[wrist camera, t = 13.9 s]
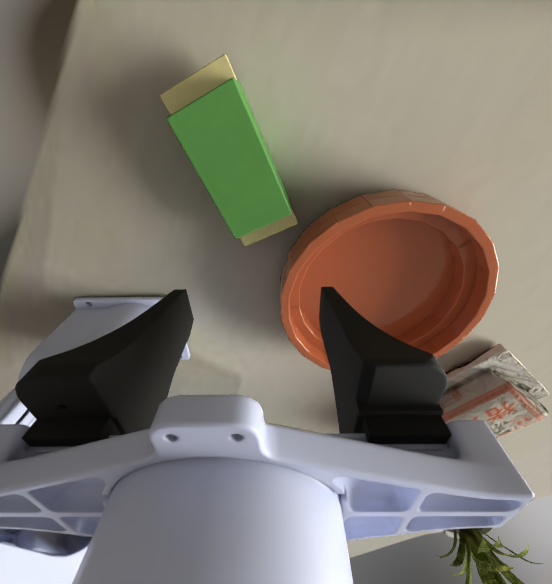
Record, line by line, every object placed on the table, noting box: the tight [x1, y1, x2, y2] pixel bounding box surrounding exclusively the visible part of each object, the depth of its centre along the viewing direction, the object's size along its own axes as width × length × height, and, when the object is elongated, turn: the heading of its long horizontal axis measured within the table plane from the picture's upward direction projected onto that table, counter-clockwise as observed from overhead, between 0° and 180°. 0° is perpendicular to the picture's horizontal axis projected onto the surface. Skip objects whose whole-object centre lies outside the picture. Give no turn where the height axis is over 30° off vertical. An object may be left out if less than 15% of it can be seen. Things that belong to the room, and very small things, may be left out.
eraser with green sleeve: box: [160, 54, 298, 247], centre depth 18 cm, size 4×10×3 cm, turn 25°
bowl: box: [280, 190, 499, 370], centre depth 23 cm, size 16×16×4 cm
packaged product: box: [439, 344, 549, 438], centre depth 31 cm, size 18×5×10 cm
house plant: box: [439, 528, 540, 584], centre depth 39 cm, size 14×14×16 cm
